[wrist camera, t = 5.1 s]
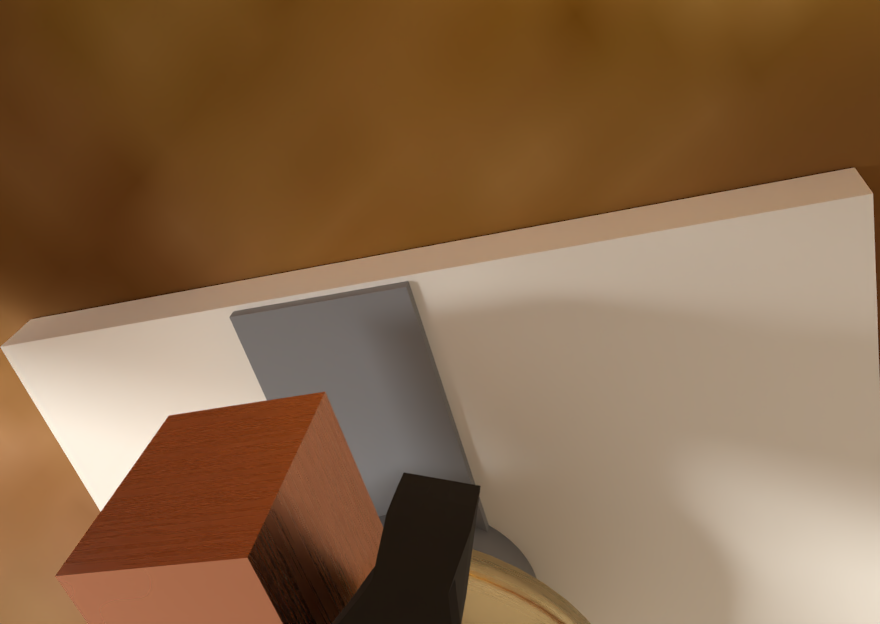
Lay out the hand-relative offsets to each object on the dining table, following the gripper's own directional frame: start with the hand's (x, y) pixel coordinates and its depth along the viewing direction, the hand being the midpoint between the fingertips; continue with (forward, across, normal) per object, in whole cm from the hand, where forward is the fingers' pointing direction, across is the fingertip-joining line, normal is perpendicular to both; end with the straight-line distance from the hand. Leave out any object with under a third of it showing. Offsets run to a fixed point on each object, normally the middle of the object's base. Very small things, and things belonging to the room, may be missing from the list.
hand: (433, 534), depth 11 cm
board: (+5, -1, +5) cm, 7 cm away
